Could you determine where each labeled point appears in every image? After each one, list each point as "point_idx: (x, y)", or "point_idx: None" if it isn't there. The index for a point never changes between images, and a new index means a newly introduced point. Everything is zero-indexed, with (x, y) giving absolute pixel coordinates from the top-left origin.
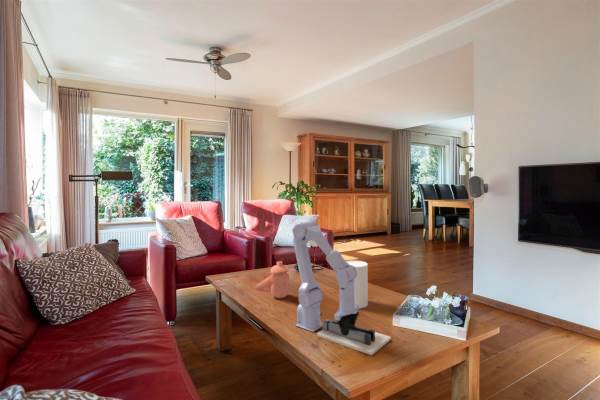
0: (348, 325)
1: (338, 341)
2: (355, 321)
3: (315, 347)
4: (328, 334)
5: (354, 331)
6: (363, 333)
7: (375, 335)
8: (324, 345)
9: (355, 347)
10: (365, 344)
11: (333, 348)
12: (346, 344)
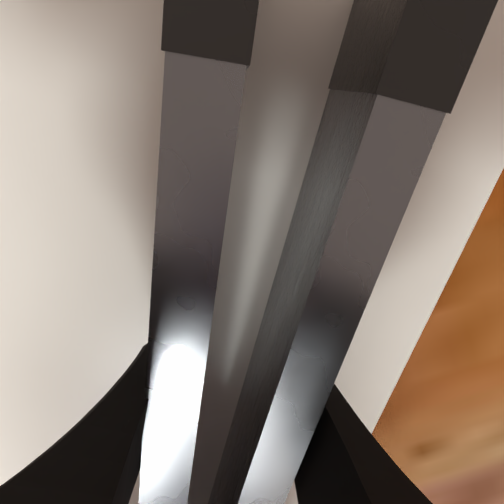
0: (191, 458)
1: (387, 389)
2: (79, 437)
3: (499, 487)
4: (287, 499)
5: (357, 323)
6: (400, 147)
7: (9, 8)
8: (449, 450)
9: (487, 190)
10: None
11: (488, 378)
12: (428, 304)
